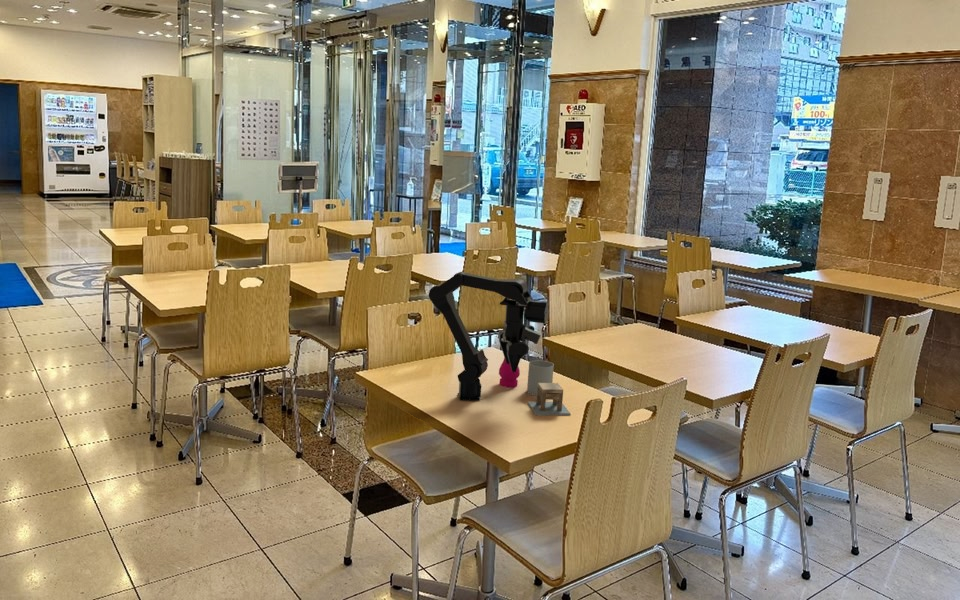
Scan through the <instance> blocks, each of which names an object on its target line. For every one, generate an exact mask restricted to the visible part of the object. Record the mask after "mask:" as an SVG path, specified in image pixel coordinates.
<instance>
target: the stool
mask: <svg viewBox="0 0 960 600" xmlns="http://www.w3.org/2000/svg"><path fill="white" fill-rule="evenodd" d="M563 398H564V389H563V387H562V386H561V385H560V384H559V382H552V383H538V388H537V396H536V401H535V402H536V404H537V405H541V406H540V410H541V411H545V403H546V402H547V401H548V400H552V402H553V405H557V410H558V411H562V403H563ZM546 400H547V401H546ZM557 402H558V403H557Z"/></svg>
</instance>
